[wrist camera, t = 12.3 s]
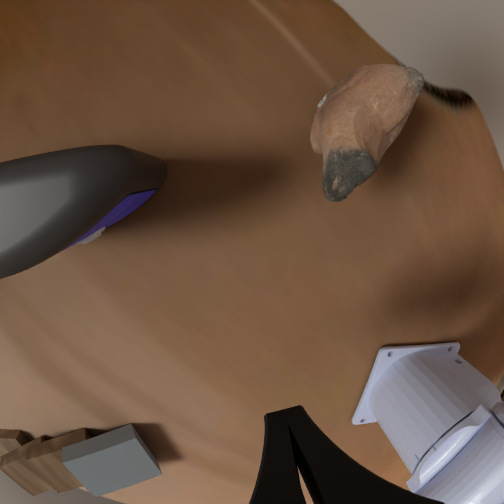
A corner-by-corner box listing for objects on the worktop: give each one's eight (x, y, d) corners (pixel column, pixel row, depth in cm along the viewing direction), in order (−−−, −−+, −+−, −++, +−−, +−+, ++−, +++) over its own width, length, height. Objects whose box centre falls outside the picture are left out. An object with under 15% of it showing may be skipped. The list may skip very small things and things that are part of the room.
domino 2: (39, 448, 18) (-1, 467, 16) (74, 478, 20) (33, 496, 17) (41, 436, 20) (1, 456, 18) (74, 466, 22) (33, 484, 19)
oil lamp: (314, 210, 18) (379, 234, 11) (260, 170, 18) (296, 164, 10) (387, 105, 17) (469, 80, 10) (341, 64, 16) (409, 14, 9)
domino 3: (85, 441, 19) (25, 460, 16) (115, 475, 20) (58, 493, 17) (84, 427, 20) (27, 446, 18) (112, 461, 22) (57, 479, 19)
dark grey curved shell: (-25, 245, 16) (-110, 284, 7) (-30, 185, 15) (-121, 200, 6) (173, 234, 18) (134, 292, 9) (170, 156, 17) (124, 134, 8)
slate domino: (135, 437, 19) (62, 462, 16) (162, 473, 20) (95, 497, 17) (130, 423, 21) (61, 447, 18) (156, 459, 22) (92, 482, 19)
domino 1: (15, 439, 19) (-19, 436, 18) (44, 471, 20) (7, 466, 20) (22, 427, 21) (-12, 425, 20) (49, 458, 22) (12, 455, 21)
